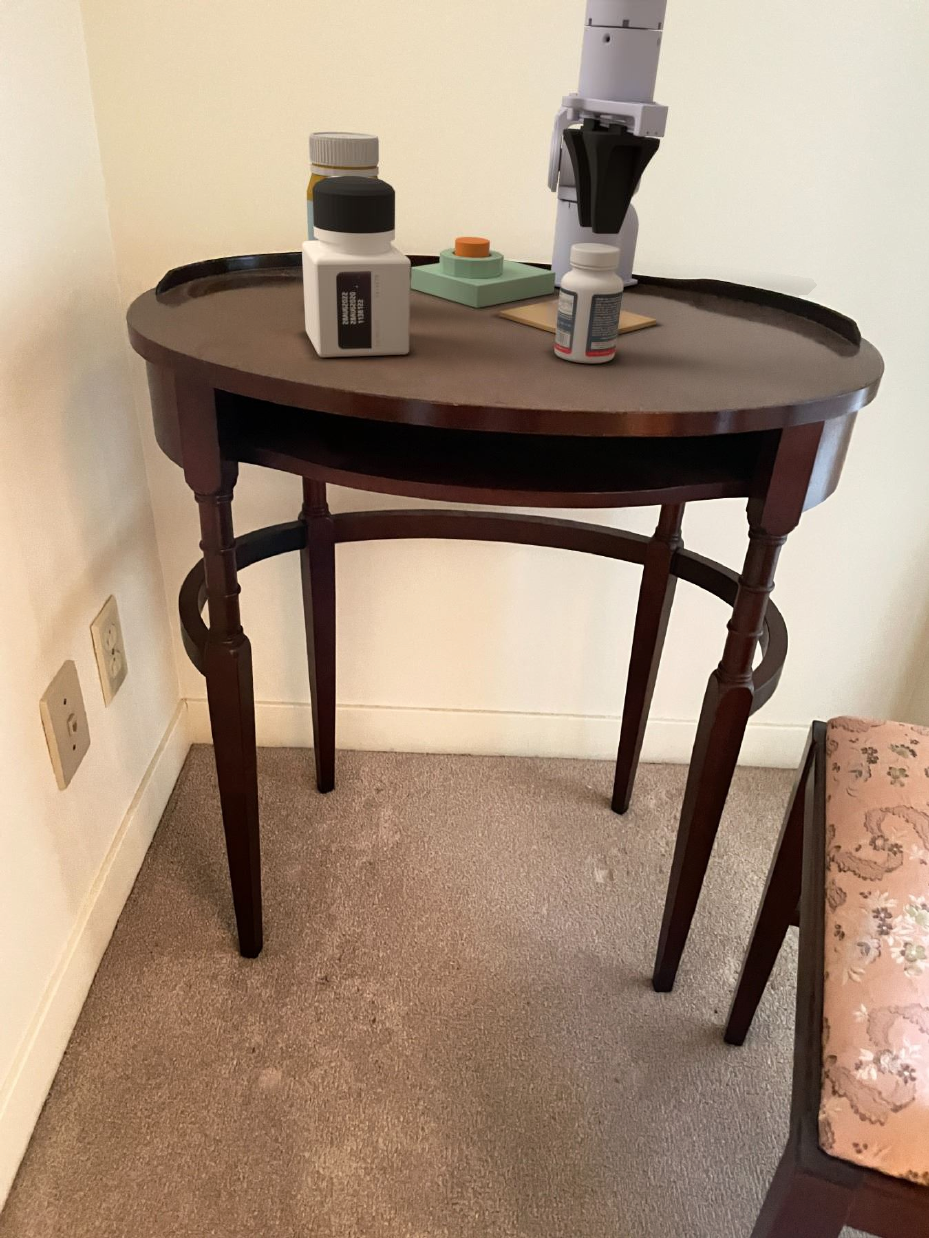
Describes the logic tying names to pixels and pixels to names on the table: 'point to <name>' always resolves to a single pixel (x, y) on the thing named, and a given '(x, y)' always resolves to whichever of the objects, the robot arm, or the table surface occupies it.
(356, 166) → the bottle
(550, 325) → the coaster
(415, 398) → the table surface
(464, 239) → the orange button cap
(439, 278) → the base
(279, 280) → the table surface
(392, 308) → the container
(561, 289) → the pill bottle
